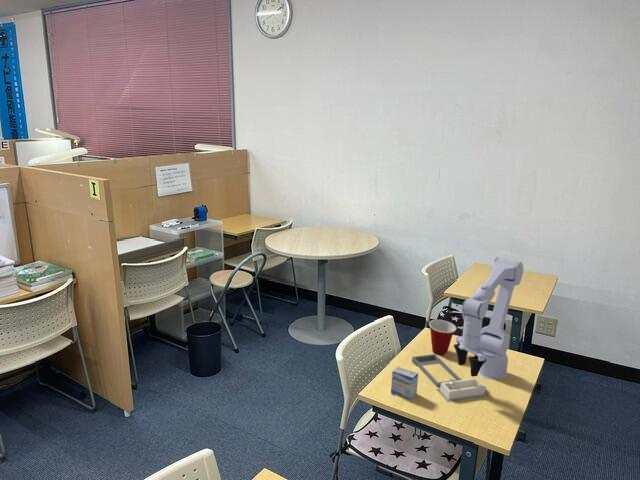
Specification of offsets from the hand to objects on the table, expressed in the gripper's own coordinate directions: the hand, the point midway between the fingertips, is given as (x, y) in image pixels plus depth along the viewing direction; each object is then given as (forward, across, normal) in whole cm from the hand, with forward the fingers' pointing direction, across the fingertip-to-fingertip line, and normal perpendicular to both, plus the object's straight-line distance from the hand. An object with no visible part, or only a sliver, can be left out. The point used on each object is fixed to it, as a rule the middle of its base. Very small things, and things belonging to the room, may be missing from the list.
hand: (467, 370), depth 161 cm
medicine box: (+9, -4, -21) cm, 24 cm away
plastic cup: (+9, -30, +7) cm, 32 cm away
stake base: (+9, 0, -1) cm, 9 cm away
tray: (+9, -15, -3) cm, 18 cm away
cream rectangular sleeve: (+8, 0, -1) cm, 8 cm away
